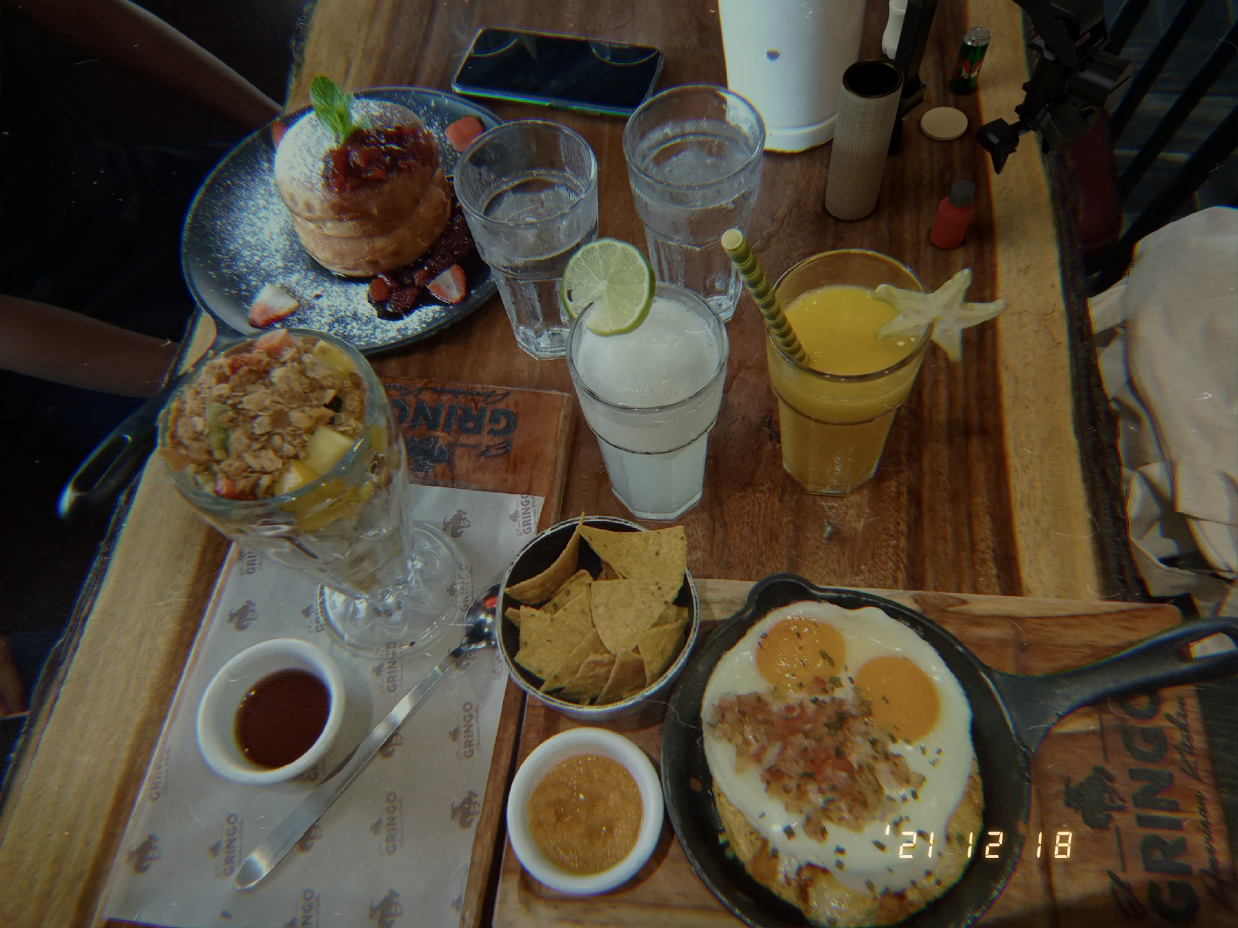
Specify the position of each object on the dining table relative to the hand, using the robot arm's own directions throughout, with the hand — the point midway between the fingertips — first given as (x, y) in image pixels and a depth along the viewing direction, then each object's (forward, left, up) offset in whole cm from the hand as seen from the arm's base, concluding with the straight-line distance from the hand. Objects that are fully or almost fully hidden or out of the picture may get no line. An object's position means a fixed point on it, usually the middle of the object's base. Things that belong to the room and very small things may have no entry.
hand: (1020, 162), depth 128 cm
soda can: (-2, +36, -13) cm, 39 cm away
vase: (-27, +5, -13) cm, 30 cm away
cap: (-10, -5, -1) cm, 11 cm away
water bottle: (-14, +49, -13) cm, 53 cm away
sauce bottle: (-10, -5, -13) cm, 17 cm away
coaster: (-7, +25, -13) cm, 29 cm away
